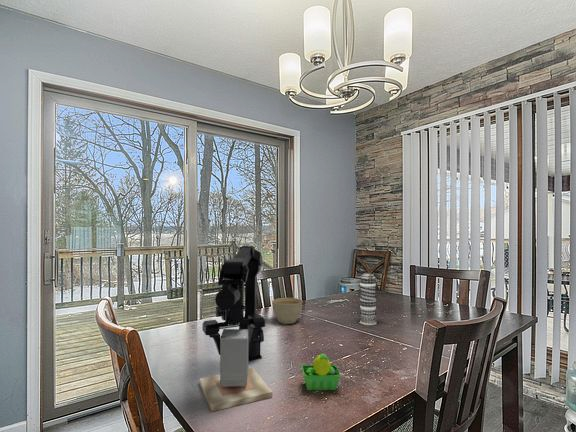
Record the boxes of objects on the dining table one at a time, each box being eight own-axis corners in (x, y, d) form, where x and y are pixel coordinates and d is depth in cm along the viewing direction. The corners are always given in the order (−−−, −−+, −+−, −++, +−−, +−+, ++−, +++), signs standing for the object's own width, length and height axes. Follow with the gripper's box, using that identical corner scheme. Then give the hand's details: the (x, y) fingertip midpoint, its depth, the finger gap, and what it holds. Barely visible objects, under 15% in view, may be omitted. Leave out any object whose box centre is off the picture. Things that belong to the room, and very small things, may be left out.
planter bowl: (303, 317, 181) (303, 297, 181) (301, 326, 165) (301, 304, 165) (274, 317, 183) (274, 297, 183) (269, 325, 166) (269, 304, 167)
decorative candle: (373, 326, 165) (372, 276, 165) (356, 323, 170) (355, 274, 171) (380, 322, 172) (379, 273, 173) (363, 319, 178) (363, 272, 178)
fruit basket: (336, 380, 108) (336, 345, 109) (341, 394, 99) (341, 356, 100) (301, 380, 108) (301, 346, 108) (303, 394, 99) (303, 356, 99)
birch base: (252, 372, 114) (252, 367, 114) (272, 396, 98) (272, 391, 98) (199, 383, 106) (199, 378, 107) (211, 411, 90) (211, 405, 90)
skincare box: (248, 375, 106) (250, 327, 104) (246, 389, 99) (248, 338, 97) (221, 374, 105) (223, 326, 104) (217, 388, 98) (219, 337, 97)
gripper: (254, 293, 114) (254, 339, 114) (199, 299, 106) (199, 348, 106) (266, 300, 104) (266, 350, 104) (206, 307, 96) (206, 361, 96)
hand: (234, 351), depth 103 cm, fingers closed on skincare box, 9 cm apart
